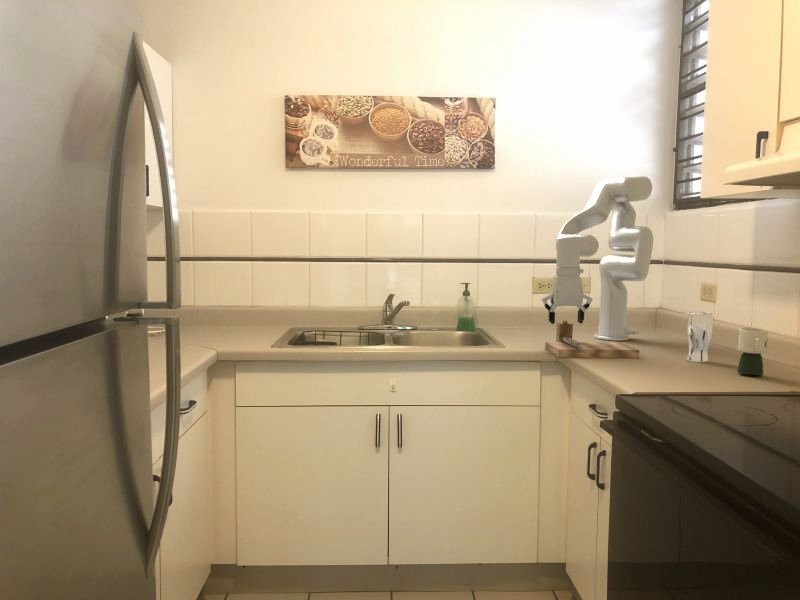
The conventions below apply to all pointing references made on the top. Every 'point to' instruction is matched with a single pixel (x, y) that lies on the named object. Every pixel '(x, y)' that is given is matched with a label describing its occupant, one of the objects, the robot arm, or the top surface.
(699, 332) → the beer glass
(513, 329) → the top surface
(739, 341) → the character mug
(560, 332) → the marking gauge
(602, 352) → the oak board
